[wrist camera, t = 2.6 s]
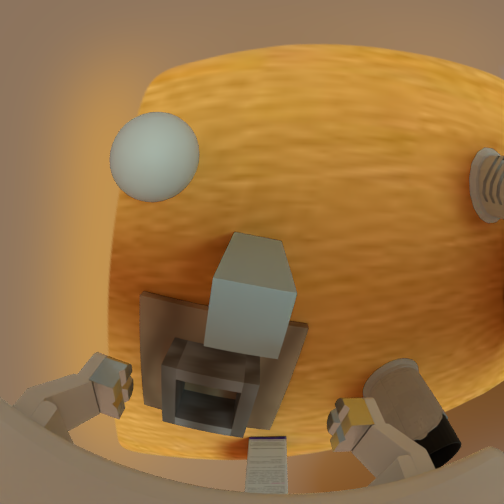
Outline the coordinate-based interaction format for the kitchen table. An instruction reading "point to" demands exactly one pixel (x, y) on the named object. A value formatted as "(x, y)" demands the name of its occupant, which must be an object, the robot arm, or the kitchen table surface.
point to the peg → (251, 298)
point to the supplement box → (267, 465)
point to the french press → (487, 185)
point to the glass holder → (412, 408)
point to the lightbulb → (154, 156)
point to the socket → (209, 371)
